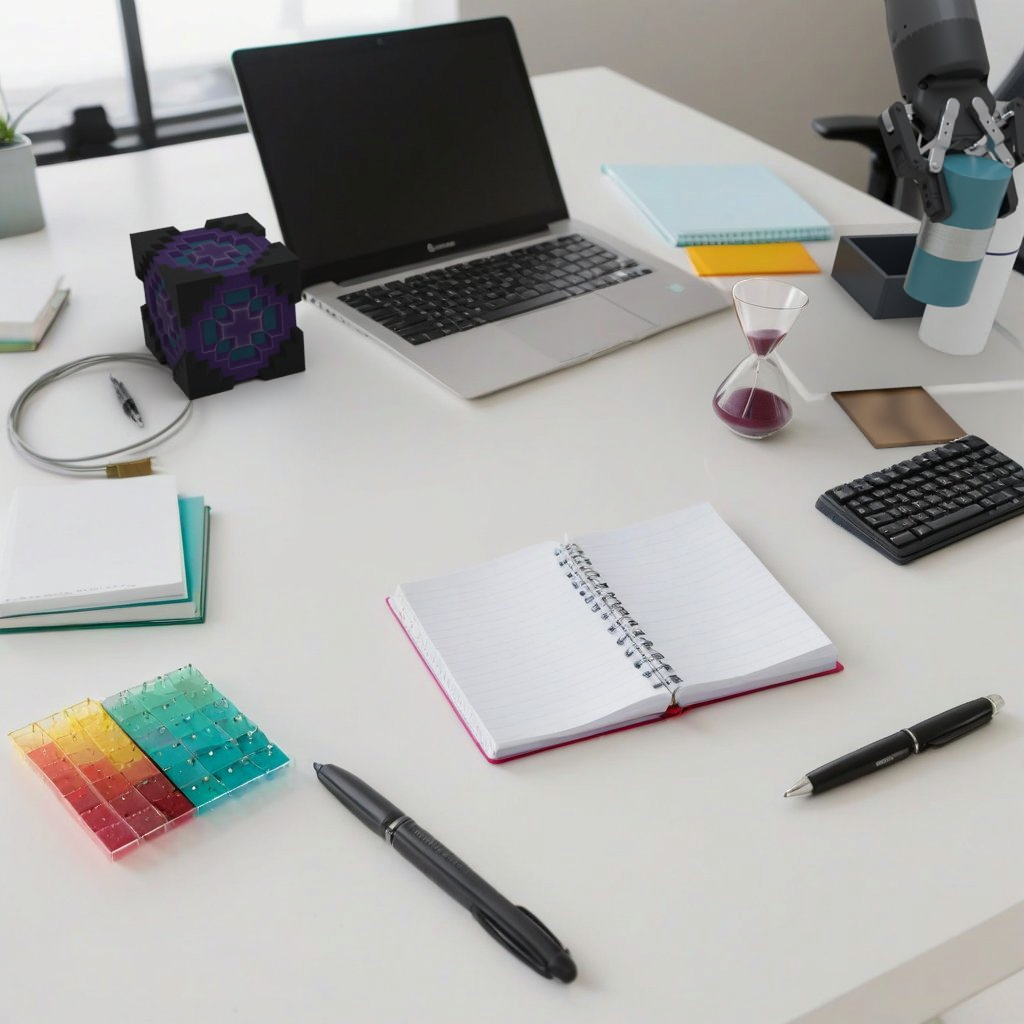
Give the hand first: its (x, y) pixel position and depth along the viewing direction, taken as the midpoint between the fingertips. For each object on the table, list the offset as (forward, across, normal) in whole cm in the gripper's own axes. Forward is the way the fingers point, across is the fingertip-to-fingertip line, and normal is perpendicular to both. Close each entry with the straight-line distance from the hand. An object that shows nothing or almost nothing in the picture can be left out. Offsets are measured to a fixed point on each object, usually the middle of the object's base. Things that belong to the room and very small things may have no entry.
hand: (974, 217), depth 101 cm
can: (+4, 0, +7) cm, 8 cm away
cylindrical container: (+6, +14, +25) cm, 29 cm away
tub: (-2, +14, +33) cm, 36 cm away
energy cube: (-3, -63, +34) cm, 72 cm away
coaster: (+14, 0, +16) cm, 22 cm away
